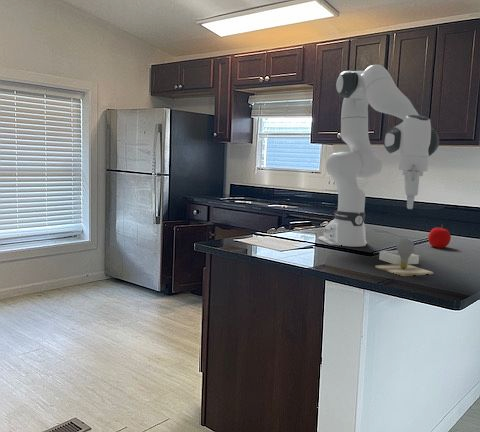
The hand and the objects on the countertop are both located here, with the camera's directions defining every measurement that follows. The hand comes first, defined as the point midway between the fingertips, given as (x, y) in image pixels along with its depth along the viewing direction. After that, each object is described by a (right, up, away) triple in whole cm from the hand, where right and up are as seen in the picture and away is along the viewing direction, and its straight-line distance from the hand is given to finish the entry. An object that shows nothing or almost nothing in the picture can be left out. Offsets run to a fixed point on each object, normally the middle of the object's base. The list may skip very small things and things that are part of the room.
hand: (409, 207), depth 159 cm
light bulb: (-2, -21, +1) cm, 21 cm away
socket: (+1, -19, +15) cm, 25 cm away
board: (-2, -21, +1) cm, 21 cm away
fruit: (+30, -17, +49) cm, 60 cm away
